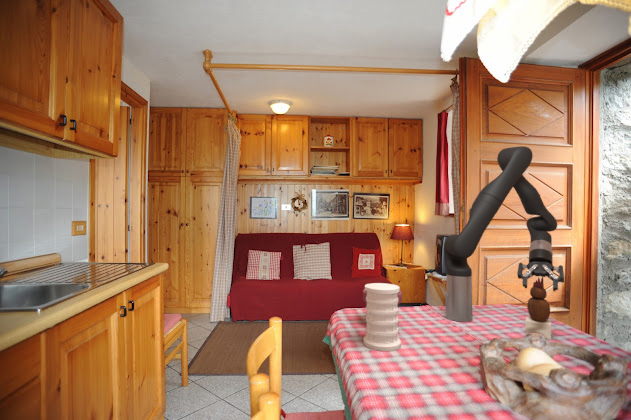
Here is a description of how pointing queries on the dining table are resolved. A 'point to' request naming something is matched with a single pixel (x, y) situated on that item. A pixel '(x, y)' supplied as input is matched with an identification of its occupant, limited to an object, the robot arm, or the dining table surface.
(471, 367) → the dining table surface
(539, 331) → the limewashed block
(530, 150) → the robot arm
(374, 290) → the decorative container
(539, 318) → the wooden figurine
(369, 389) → the dining table surface
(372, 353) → the dining table surface
